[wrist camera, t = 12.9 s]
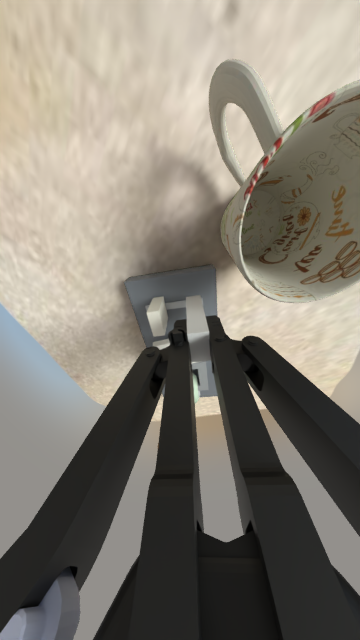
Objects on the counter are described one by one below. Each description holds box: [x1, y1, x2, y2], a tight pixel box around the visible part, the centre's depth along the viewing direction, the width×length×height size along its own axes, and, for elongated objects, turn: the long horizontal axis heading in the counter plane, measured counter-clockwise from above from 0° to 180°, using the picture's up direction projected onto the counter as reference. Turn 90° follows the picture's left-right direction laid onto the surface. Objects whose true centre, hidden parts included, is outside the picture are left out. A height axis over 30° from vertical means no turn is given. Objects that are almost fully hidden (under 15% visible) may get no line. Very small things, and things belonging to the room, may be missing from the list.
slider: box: [146, 296, 168, 337], centre depth 16 cm, size 3×1×4 cm, turn 9°
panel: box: [124, 264, 218, 397], centre depth 22 cm, size 22×10×4 cm, turn 9°
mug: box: [209, 59, 360, 303], centre depth 11 cm, size 8×13×10 cm, turn 42°
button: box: [193, 373, 199, 403], centre depth 21 cm, size 3×3×3 cm
